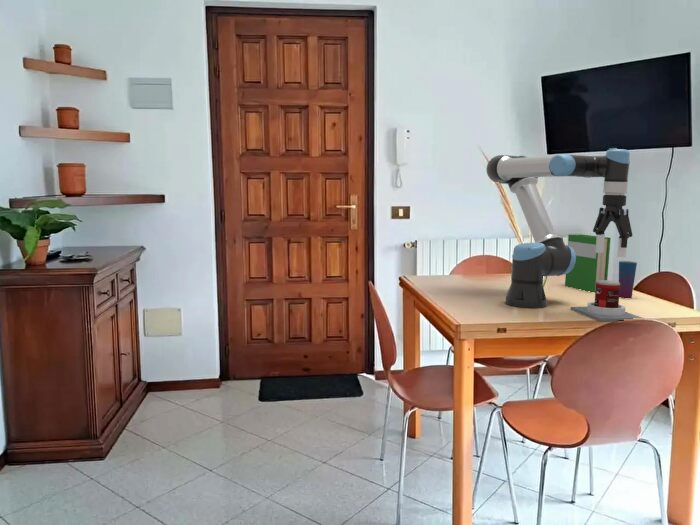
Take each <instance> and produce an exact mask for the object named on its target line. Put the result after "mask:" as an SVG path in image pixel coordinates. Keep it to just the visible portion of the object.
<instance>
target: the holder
mask: <svg viewBox="0 0 700 525" xmlns="http://www.w3.org/2000/svg"><path fill="white" fill-rule="evenodd" d="M594 304H595V301H591V302H587V305H586V306H570V308H569V309H570V310H571V311H574V312H576V313H579V314H581V315H583V316H586V317H589V318H591V319H594V320H596V321H598V322H617V321H616V320H624V319H633V318H643V317H642V316H639V315H636V314H633V313H630V312H628V311H626V305H622V304H620V303H619V305H618V308H603V307H597V306H594Z"/></svg>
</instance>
